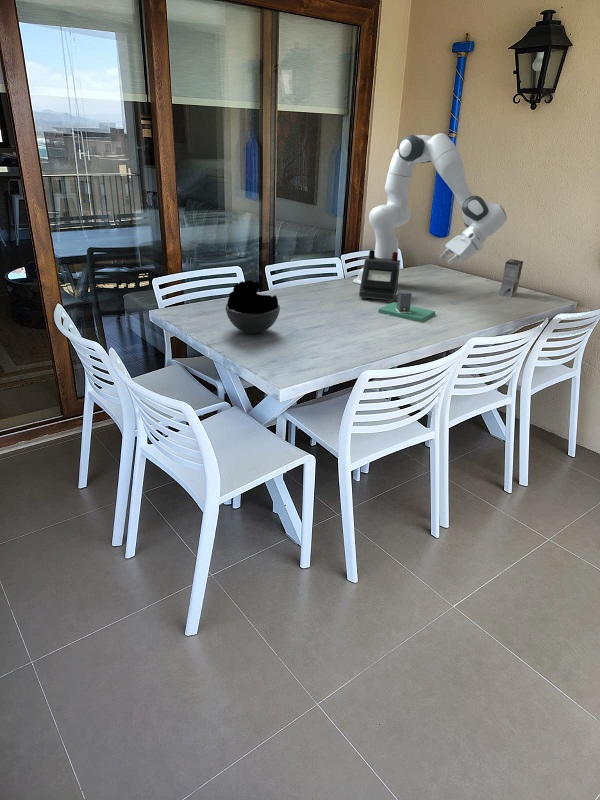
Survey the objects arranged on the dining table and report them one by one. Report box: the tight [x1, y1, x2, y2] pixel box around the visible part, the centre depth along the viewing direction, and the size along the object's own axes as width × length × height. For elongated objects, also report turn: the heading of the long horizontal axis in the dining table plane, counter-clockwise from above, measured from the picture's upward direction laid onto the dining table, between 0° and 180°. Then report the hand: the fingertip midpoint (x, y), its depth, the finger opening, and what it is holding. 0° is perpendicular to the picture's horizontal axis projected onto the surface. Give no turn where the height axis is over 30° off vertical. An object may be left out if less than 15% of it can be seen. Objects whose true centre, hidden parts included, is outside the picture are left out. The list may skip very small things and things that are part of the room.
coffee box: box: [499, 258, 524, 298], centre depth 265 cm, size 9×6×16 cm
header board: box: [378, 301, 436, 323], centre depth 232 cm, size 20×14×2 cm
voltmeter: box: [358, 249, 401, 303], centre depth 251 cm, size 16×16×20 cm
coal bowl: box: [225, 279, 281, 334], centre depth 200 cm, size 20×20×19 cm
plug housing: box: [396, 289, 412, 312], centre depth 229 cm, size 5×4×8 cm
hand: (444, 260), depth 230 cm, fingers open, 8 cm apart
